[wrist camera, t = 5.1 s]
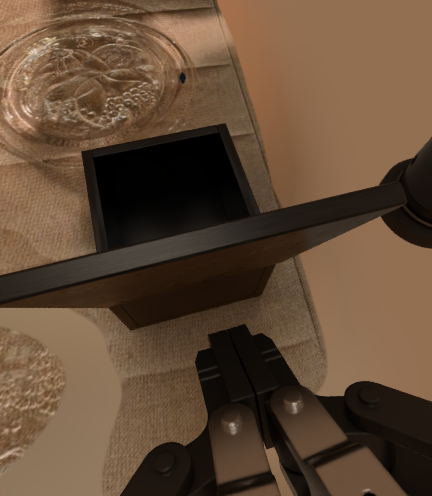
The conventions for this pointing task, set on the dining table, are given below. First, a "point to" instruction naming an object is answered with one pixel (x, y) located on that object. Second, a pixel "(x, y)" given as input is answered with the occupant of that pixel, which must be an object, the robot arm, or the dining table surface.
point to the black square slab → (194, 254)
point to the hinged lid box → (171, 210)
